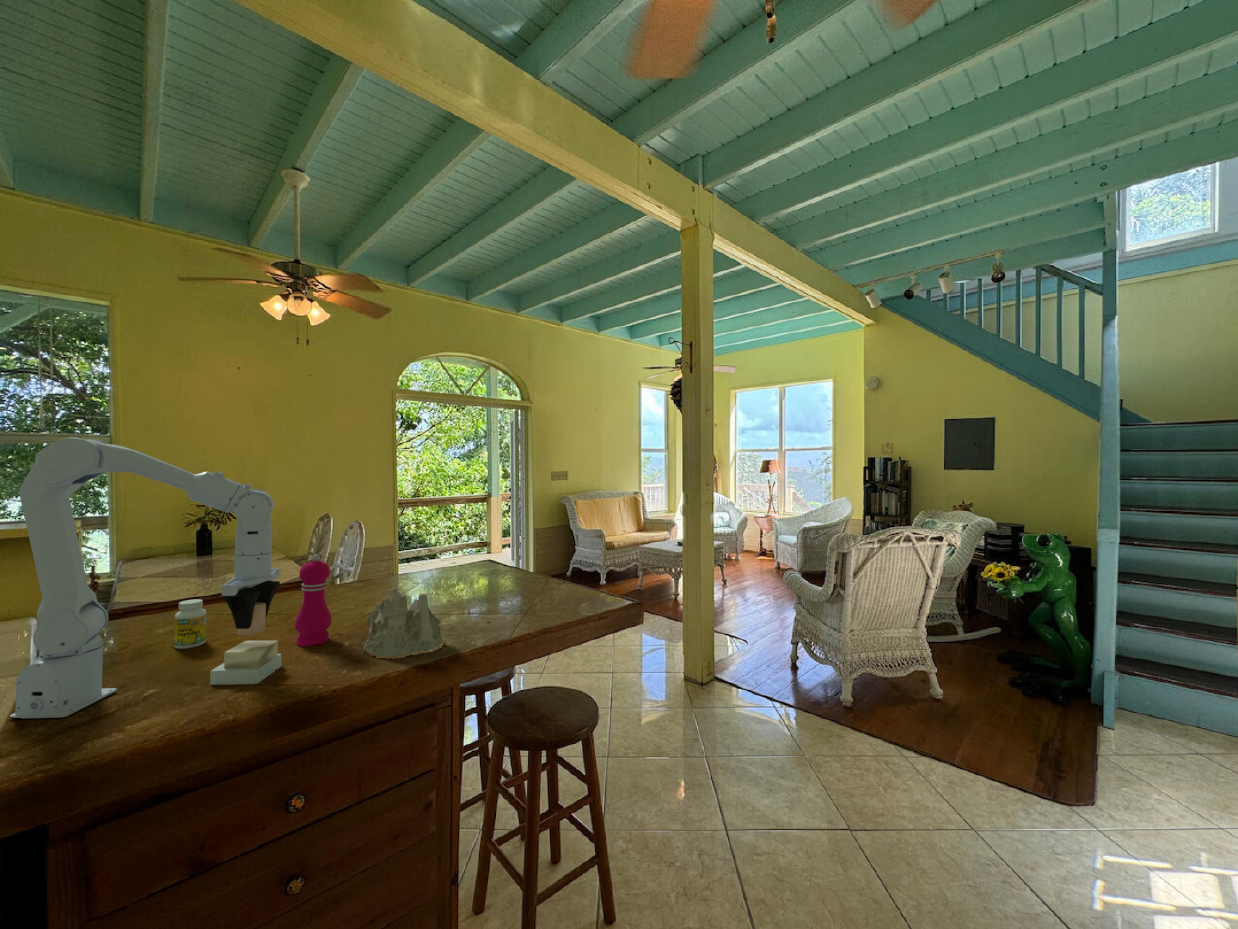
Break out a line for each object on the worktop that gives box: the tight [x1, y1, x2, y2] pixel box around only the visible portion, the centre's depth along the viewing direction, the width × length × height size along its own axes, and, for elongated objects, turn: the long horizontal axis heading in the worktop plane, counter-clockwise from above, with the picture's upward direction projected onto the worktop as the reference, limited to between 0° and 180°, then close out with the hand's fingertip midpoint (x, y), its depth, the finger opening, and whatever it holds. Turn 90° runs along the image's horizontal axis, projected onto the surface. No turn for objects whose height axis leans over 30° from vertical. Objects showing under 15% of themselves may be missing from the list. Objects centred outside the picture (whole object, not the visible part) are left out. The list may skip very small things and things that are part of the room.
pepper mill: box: [294, 554, 332, 647], centre depth 114 cm, size 7×7×20 cm
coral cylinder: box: [236, 602, 266, 636], centre depth 96 cm, size 4×4×5 cm
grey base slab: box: [209, 653, 282, 686], centre depth 96 cm, size 8×8×3 cm
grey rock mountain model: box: [363, 586, 444, 656], centre depth 114 cm, size 16×16×15 cm
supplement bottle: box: [173, 598, 207, 650], centre depth 110 cm, size 5×5×10 cm
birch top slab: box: [223, 640, 279, 668], centre depth 96 cm, size 6×6×3 cm
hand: (251, 624), depth 96 cm, fingers closed on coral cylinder, 4 cm apart
